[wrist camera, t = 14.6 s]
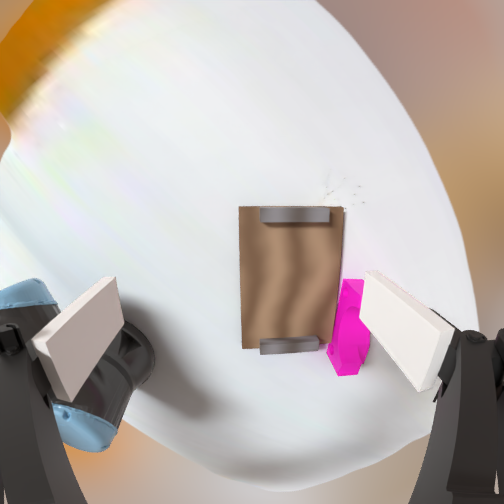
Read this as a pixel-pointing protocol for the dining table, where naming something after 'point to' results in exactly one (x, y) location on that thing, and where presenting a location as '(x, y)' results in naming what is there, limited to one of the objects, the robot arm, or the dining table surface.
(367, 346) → the toy block
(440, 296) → the dining table surface
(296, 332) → the wooden serving tray
